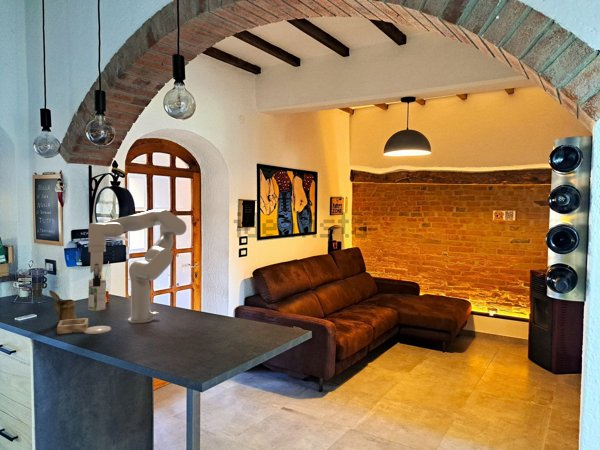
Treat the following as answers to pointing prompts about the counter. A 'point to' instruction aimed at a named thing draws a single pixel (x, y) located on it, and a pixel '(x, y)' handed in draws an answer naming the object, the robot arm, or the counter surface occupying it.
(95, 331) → the cream shiny round part
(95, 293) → the syrup box
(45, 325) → the counter surface
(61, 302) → the wooden mug
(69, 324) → the oak collar
